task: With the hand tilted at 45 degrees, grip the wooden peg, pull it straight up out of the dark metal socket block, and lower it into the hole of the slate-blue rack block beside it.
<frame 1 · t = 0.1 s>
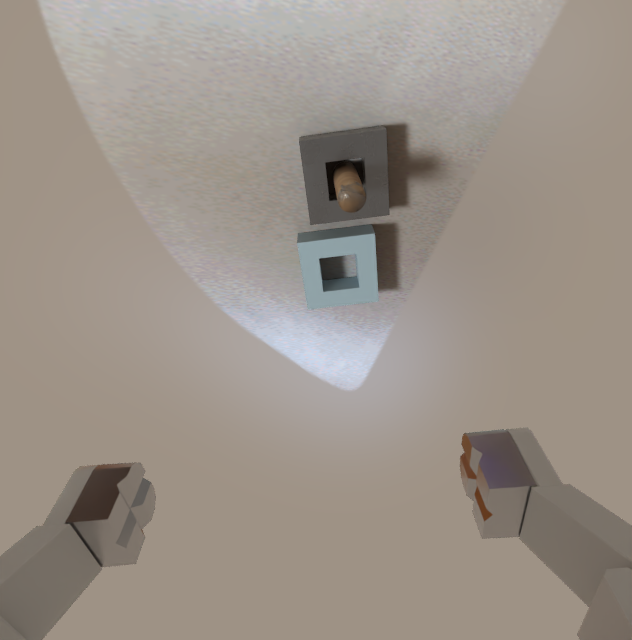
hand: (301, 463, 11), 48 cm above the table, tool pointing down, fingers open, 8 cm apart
rack block: (338, 262, 60), on the table
peg: (347, 185, 49), in the socket block
socket block: (344, 173, 53), on the table
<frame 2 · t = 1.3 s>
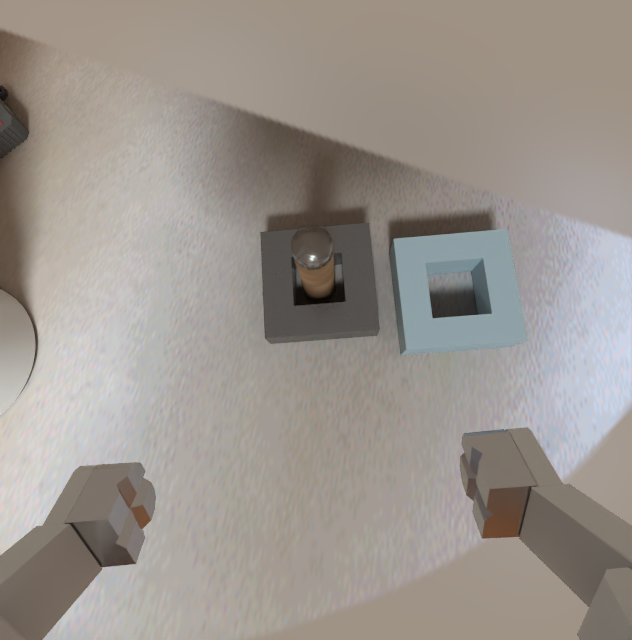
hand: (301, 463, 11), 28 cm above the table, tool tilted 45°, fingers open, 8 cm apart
rack block: (448, 298, 40), on the table
peg: (316, 269, 36), in the socket block
socket block: (319, 288, 41), on the table
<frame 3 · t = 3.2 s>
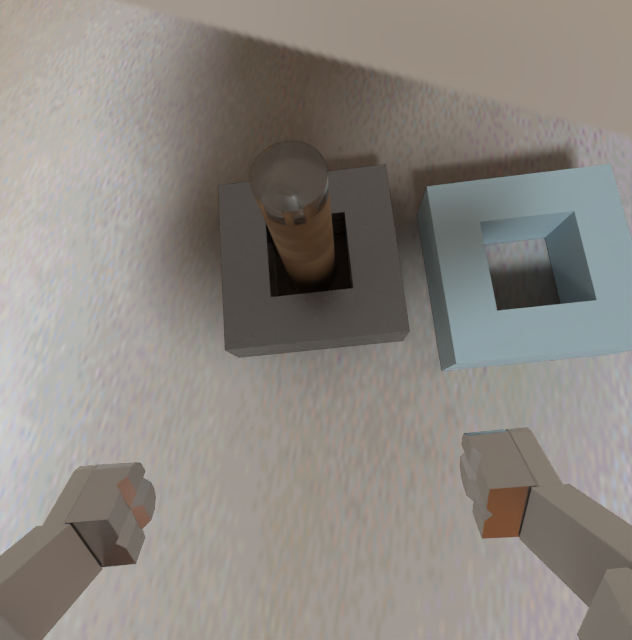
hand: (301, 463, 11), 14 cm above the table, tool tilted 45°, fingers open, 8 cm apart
rack block: (511, 280, 26), on the table
peg: (303, 235, 22), in the socket block
socket block: (312, 271, 27), on the table
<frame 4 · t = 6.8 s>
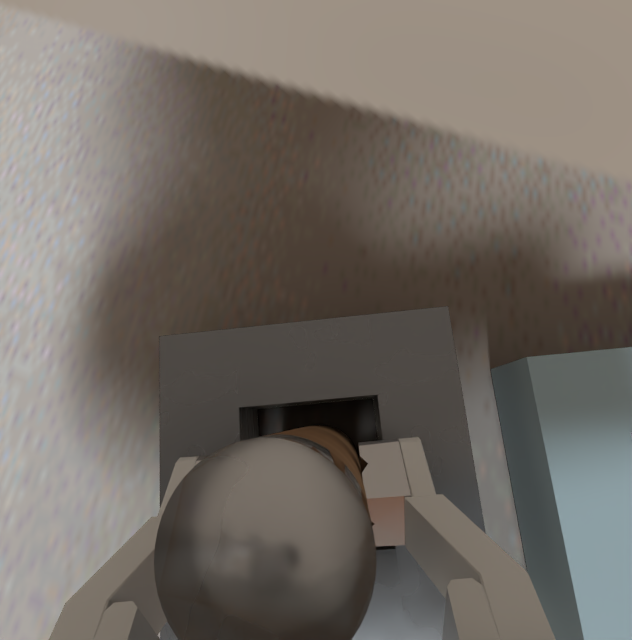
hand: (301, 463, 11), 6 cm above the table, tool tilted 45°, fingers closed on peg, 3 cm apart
peg: (305, 487, 11), in the socket block, touching gripper
socket block: (320, 464, 16), on the table
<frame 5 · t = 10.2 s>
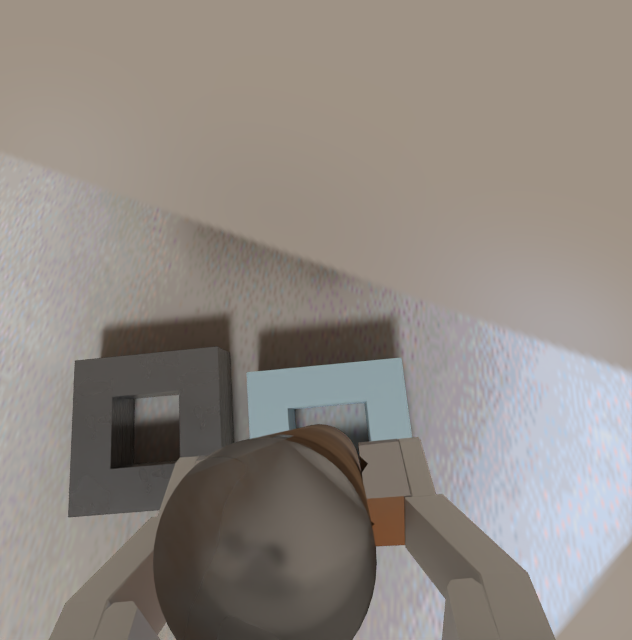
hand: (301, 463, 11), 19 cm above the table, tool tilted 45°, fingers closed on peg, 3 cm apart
rack block: (332, 442, 30), on the table
peg: (305, 487, 11), point 19 cm above the table, touching gripper
socket block: (164, 427, 31), on the table
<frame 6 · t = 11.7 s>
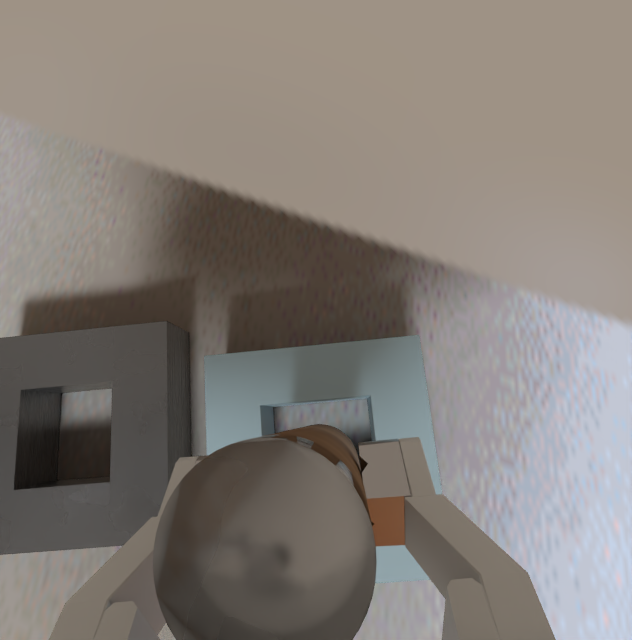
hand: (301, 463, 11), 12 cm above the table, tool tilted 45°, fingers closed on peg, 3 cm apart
rack block: (324, 451, 22), on the table
peg: (305, 487, 11), point 11 cm above the table, touching gripper
socket block: (100, 432, 23), on the table
when the fingers open (7 cm above the table, at t = 13.4 s): peg drops 1 cm, resting in rack block.
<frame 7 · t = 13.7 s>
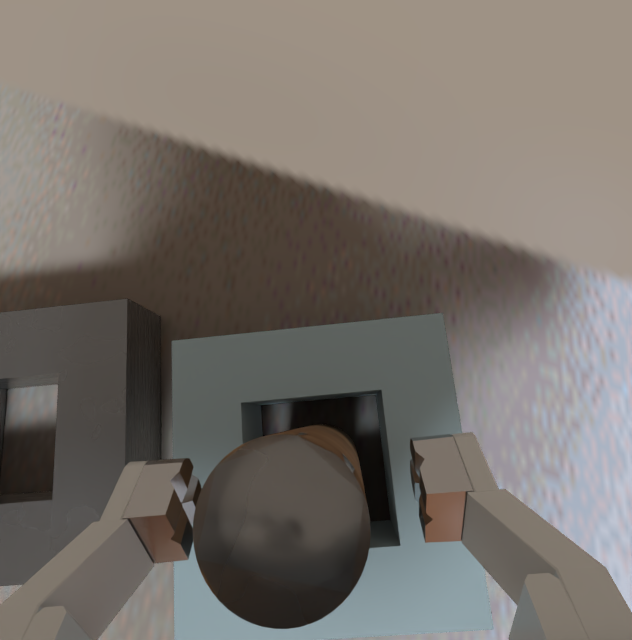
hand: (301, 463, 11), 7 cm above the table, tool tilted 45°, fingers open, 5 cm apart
rack block: (323, 460, 18), on the table
peg: (310, 479, 12), in the rack block
socket block: (51, 436, 19), on the table
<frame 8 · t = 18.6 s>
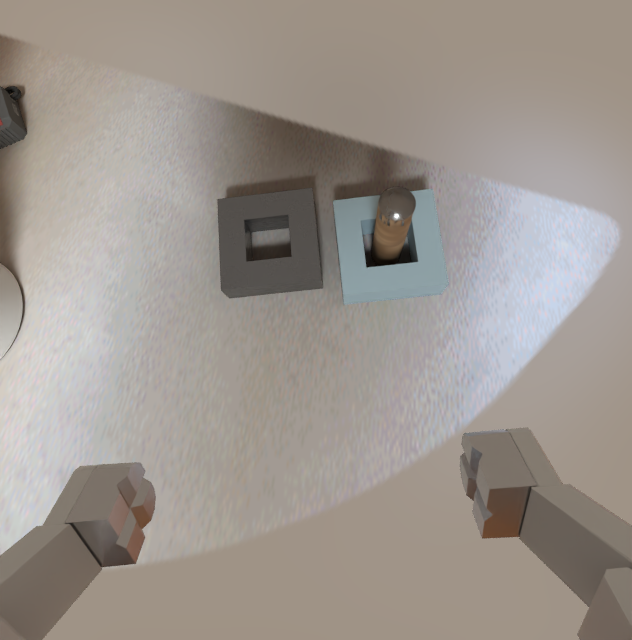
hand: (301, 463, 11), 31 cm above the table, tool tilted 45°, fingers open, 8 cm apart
rack block: (385, 254, 45), on the table
peg: (390, 232, 40), in the rack block
socket block: (272, 249, 46), on the table
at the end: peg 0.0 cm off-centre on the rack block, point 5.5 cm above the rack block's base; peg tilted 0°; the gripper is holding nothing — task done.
